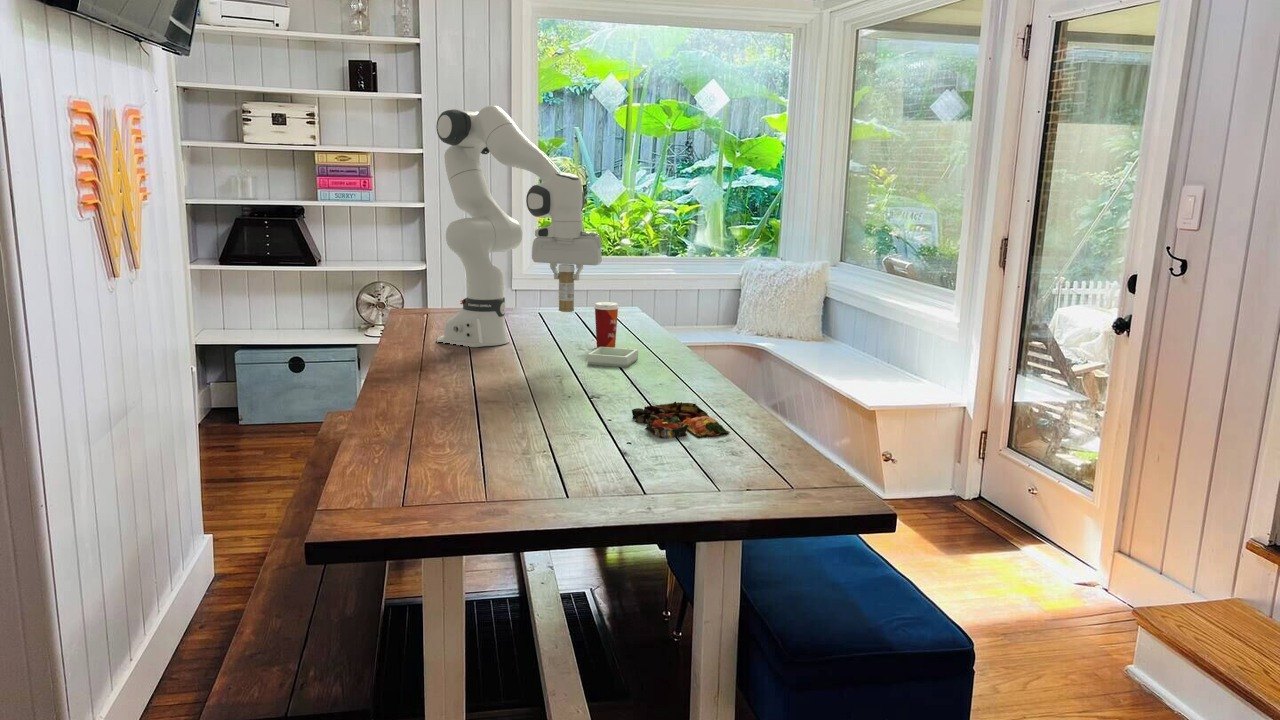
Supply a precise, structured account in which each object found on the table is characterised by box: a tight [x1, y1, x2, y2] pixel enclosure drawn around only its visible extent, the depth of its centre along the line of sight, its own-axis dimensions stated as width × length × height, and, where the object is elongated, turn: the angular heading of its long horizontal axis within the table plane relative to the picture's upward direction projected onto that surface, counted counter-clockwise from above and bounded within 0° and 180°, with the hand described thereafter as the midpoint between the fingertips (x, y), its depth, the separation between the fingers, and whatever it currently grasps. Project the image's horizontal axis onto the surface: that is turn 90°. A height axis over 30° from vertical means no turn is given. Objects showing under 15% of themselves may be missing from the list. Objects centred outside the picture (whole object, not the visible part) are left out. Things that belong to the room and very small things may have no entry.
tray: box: [587, 347, 639, 368], centre depth 266 cm, size 12×12×3 cm
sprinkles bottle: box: [558, 264, 576, 313], centre depth 265 cm, size 5×5×13 cm
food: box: [631, 401, 731, 440], centre depth 205 cm, size 22×19×4 cm
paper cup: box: [593, 301, 620, 349], centre depth 284 cm, size 8×8×14 cm
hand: (566, 279), depth 265 cm, fingers closed on sprinkles bottle, 4 cm apart
